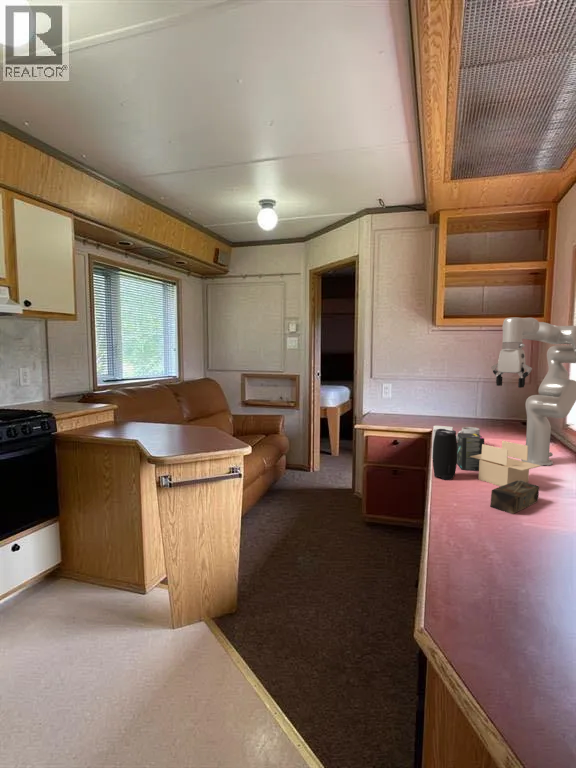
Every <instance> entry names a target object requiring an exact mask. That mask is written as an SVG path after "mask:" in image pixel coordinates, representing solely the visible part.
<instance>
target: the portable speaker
mask: <svg viewBox="0 0 576 768" xmlns="http://www.w3.org/2000/svg"><path fill="white" fill-rule="evenodd" d="M456 436H457V431H456V430H454V429H453V431H450V430H446V429H437V430H436V432H435V437H434V442H433V459H432V466H433V476H434V478H437V477H438V478H441V480H443V479H444V481H450V480H453V478H454V477H455V476H456V471H457V466H458V465H457V438H456Z"/></svg>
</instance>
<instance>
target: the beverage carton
mask: <svg viewBox="0 0 576 768" xmlns="http://www.w3.org/2000/svg"><path fill="white" fill-rule="evenodd" d="M539 492H540V486H539V485H536V484H532V483H529V482H528V483H526V482H524V481H522V480H520V481H514V482H512V483H509V484H506V485H503V486H499V487H498V486H497V487H496V488H494V489H491V495H490V507H491V508H493V509H496V510H499V511H502V512H504V511H505V512H506V513H508V514H511V515H514V514H516V513H518V512H520V511H522V510H524V509H527V508H528V507H530V506H532V505H534V504H536V503H537V502H538V501H539V494H540V493H539Z"/></svg>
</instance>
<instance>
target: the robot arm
mask: <svg viewBox="0 0 576 768" xmlns="http://www.w3.org/2000/svg"><path fill="white" fill-rule="evenodd" d="M501 329H502V341H501V342H502V343H501V349H500V351H499V356H498V361H497V363H496V364H494V365H491V367H490V368H491V370H492V373H493V374H494V376H495V377H496V379H495V383H496V384H495V385H496V387H499V386H500V387H501V386H503V379H504V378H503V374H517V375H518V376H519V378H518V381H517V382H518V385H517V386H518V388H519V389H521V388H525V383H526V378H528V376H529V375H530V374H531V372H532V370H533V367H531V366H529V365H528V364H526V354H525V350H524V349H523V348H525V347H526V344H525V343H523V340H530V341H536V342H542V343H546V344H549V345H552V346H550V347H549V348H548V349H547V351H546V360H547V361H546V362H547V365H548V371H547V373H546V374H545V376H544V378H543V380H542V381H541V383H540V385H539V386H538V389H537V392H538V394H532V395H530V396H528V398H526V400H525V413H526V436H525V437H526V439H525V445H526V446H528V461H526V460H522V459H520V461H524V462H529V463H533V464H537V465H541V466H543V465H547V466H552V465H553V464H554V463H553V460H552V459H550V457H553V452H551V451H550V446H551V433H552V432H551V431H552V430H551V428H552V426H551V423H550V420H549V419H548V418H554V419H564V418H566V417H567V416H568V415H569V414H570V411H571V410H572V408H573V406H574V405H575V403H576V380H575V379H568V378H569V375H570V374H569V371H568V370H567V368H566V367H565V366H564V364H576V325H555V324H552V323H551V324H550V323H548V322H544V321H539V320H538V319H536V318H534V317H514V316H513V317H506V318H505V319H504V320H503V323H502V328H501Z"/></svg>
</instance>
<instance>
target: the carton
mask: <svg viewBox="0 0 576 768" xmlns="http://www.w3.org/2000/svg"><path fill="white" fill-rule="evenodd" d="M481 455H482V454H479V455H474V456H470V457H472V458H476V459H480V460H479V471H478V480H479V481H482V482H485V481H486V483H488V482H489V483H488V484H491V483H492V485H495V486H497V487H498V486H499V487H501V486H503V485H506V484H509V483H512V482H514V481H520V480H522V481H524V482H526V483H529V476H530V475H529V473H530V470H531V469H535V468H539V467H542V465H537V464H533V463H529V462H524V461H522V460H521V459H517V458H513V457H508V458H507V465H503V464H499V463H495V462H491V461H487V460H484V459H483V460H482V459H481Z"/></svg>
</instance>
